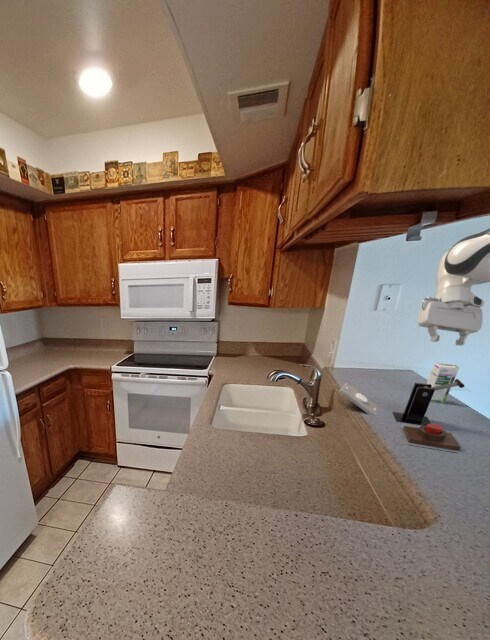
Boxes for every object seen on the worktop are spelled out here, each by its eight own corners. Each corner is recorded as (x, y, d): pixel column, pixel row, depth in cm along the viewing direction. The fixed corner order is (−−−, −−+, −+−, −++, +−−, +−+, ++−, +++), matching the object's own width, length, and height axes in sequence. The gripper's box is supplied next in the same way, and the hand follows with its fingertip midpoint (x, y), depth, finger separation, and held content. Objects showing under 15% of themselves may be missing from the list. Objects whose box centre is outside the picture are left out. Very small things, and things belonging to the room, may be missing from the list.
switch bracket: (425, 419, 111) (440, 384, 105) (431, 429, 105) (447, 392, 99) (391, 414, 115) (404, 380, 109) (395, 424, 109) (408, 387, 102)
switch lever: (459, 383, 102) (458, 376, 101) (465, 389, 98) (464, 381, 97) (416, 393, 108) (415, 386, 107) (419, 398, 104) (418, 391, 103)
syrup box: (425, 403, 124) (441, 366, 117) (420, 397, 129) (434, 361, 122) (443, 405, 122) (460, 367, 115) (437, 399, 127) (453, 362, 120)
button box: (448, 439, 100) (453, 427, 98) (457, 453, 92) (463, 441, 90) (401, 432, 104) (406, 420, 102) (407, 445, 97) (412, 433, 95)
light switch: (378, 414, 111) (343, 387, 115) (364, 425, 115) (330, 399, 119) (382, 406, 117) (348, 380, 121) (369, 417, 121) (336, 392, 125)
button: (438, 430, 97) (440, 424, 96) (441, 435, 94) (444, 430, 93) (423, 427, 98) (426, 422, 98) (426, 433, 96) (429, 427, 95)
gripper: (432, 292, 102) (428, 336, 102) (488, 301, 104) (484, 344, 104) (414, 300, 108) (410, 341, 108) (467, 308, 111) (464, 349, 111)
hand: (447, 343), depth 106 cm, fingers open, 8 cm apart
